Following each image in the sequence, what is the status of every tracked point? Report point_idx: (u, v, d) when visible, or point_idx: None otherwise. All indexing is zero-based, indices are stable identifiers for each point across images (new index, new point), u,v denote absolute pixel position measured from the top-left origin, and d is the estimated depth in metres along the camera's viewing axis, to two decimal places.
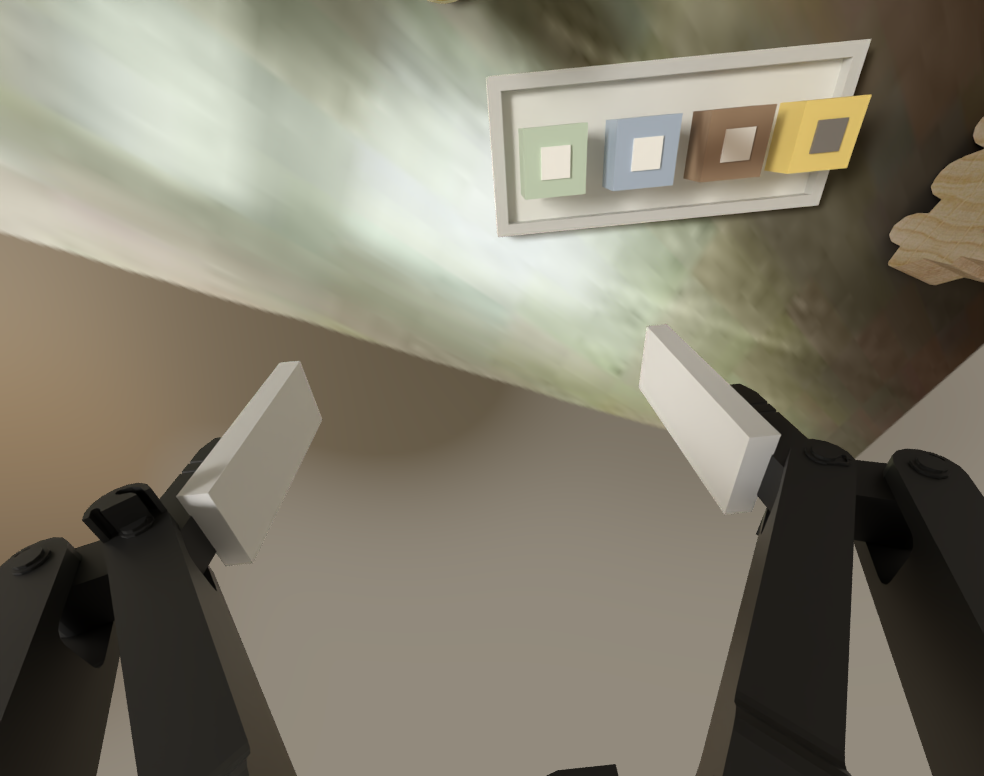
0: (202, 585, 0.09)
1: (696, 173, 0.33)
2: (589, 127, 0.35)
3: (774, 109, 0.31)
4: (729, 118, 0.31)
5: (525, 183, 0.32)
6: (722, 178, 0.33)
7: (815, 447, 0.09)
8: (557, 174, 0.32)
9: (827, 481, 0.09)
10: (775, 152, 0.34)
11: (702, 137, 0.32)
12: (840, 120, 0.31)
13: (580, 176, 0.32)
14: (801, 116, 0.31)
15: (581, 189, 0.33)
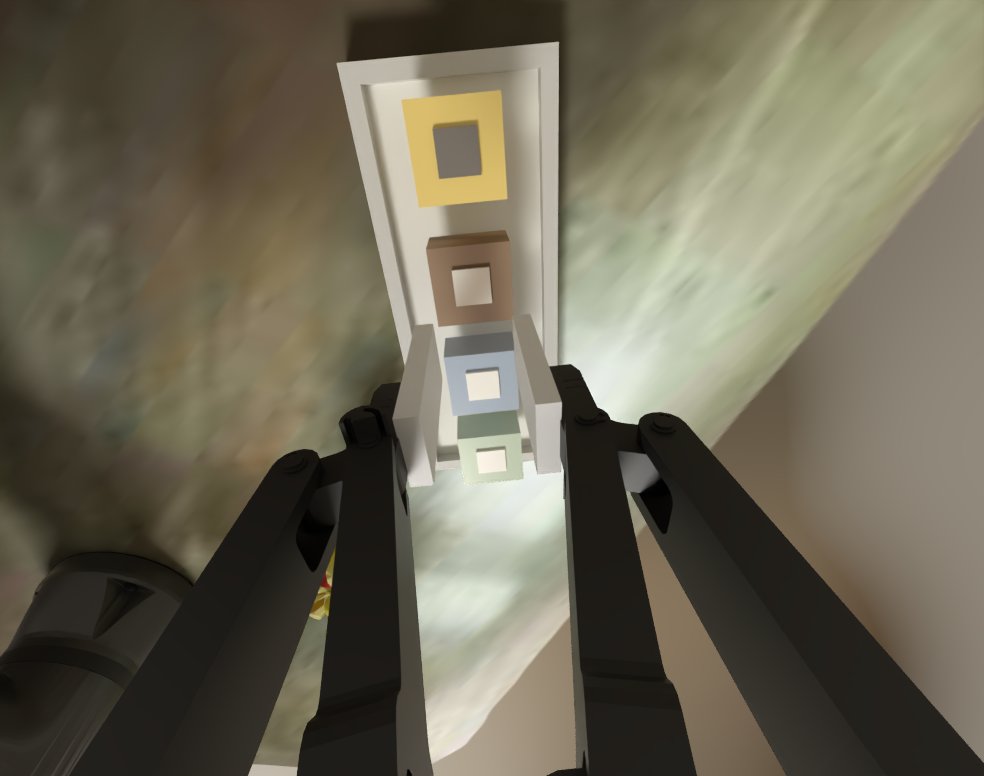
0: (399, 510, 0.10)
1: None
2: None
3: (432, 250, 0.24)
4: (445, 305, 0.25)
5: (508, 479, 0.34)
6: (510, 292, 0.25)
7: (580, 413, 0.11)
8: (501, 459, 0.32)
9: (595, 438, 0.10)
10: None
11: None
12: (437, 142, 0.21)
13: (504, 439, 0.31)
14: (436, 205, 0.22)
15: (516, 437, 0.31)
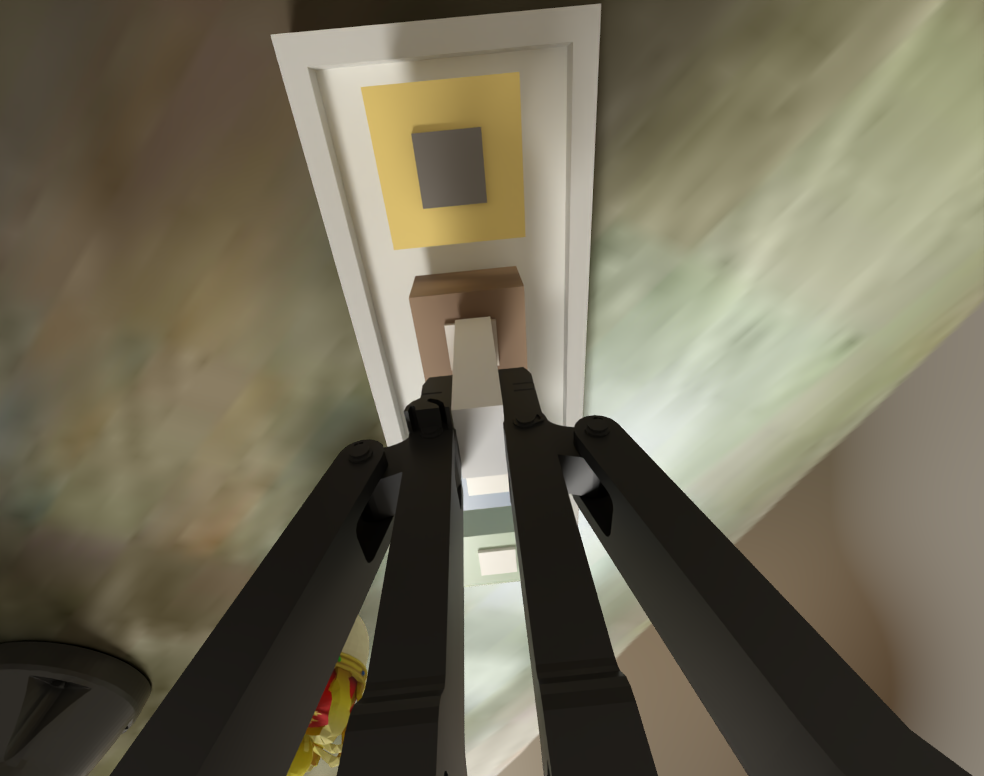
0: (455, 504, 0.10)
1: None
2: None
3: (417, 300, 0.17)
4: (436, 368, 0.19)
5: (519, 579, 0.26)
6: (523, 351, 0.19)
7: (518, 417, 0.11)
8: (510, 560, 0.25)
9: (534, 441, 0.11)
10: None
11: None
12: (419, 154, 0.13)
13: (514, 536, 0.24)
14: None
15: None
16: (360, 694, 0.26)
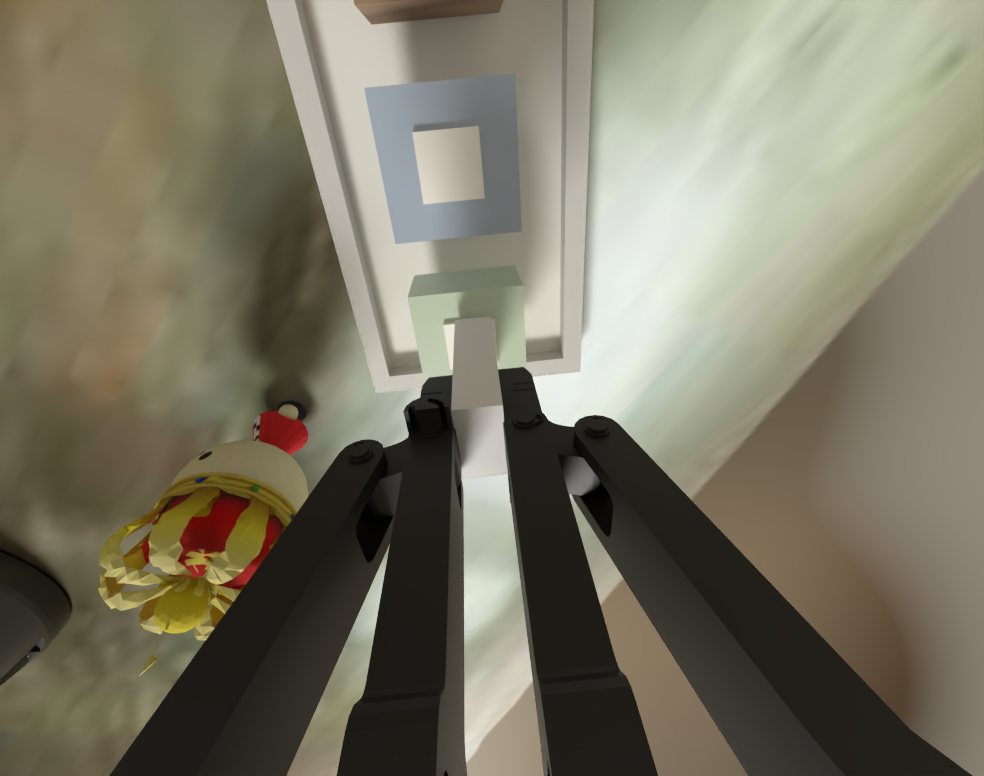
0: (454, 504, 0.10)
1: None
2: None
3: None
4: None
5: None
6: None
7: (518, 417, 0.11)
8: None
9: (534, 440, 0.11)
10: None
11: (412, 5, 0.14)
12: None
13: (493, 298, 0.17)
14: None
15: (515, 294, 0.17)
16: None
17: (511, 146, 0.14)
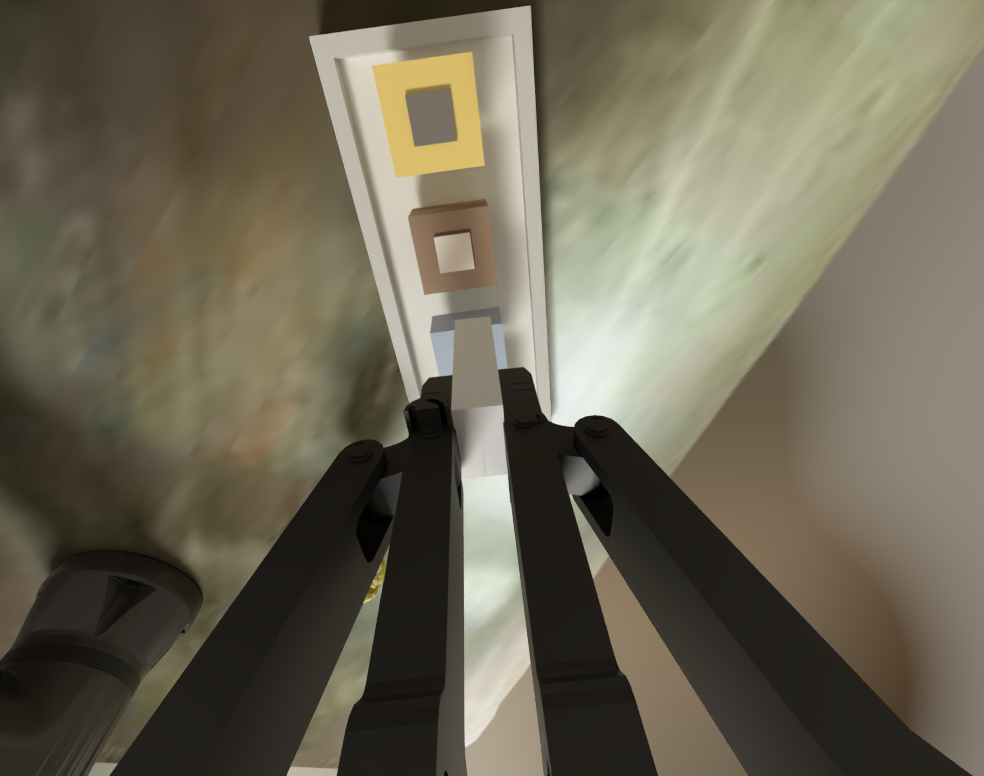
0: (454, 504, 0.10)
1: None
2: None
3: (414, 218, 0.24)
4: (429, 272, 0.26)
5: None
6: (492, 257, 0.26)
7: (518, 417, 0.11)
8: None
9: (534, 441, 0.11)
10: None
11: None
12: (411, 109, 0.20)
13: None
14: None
15: None
16: None
17: (502, 350, 0.28)
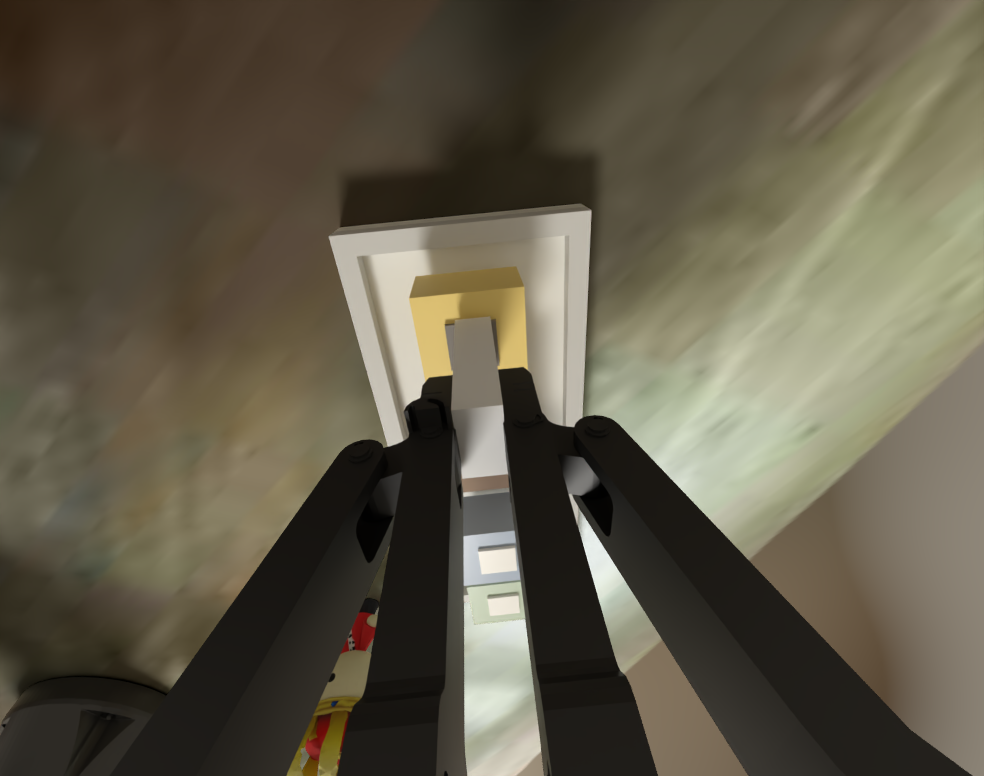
0: (455, 504, 0.10)
1: None
2: None
3: None
4: None
5: (522, 618, 0.31)
6: None
7: (518, 417, 0.11)
8: (514, 604, 0.30)
9: (534, 440, 0.11)
10: None
11: None
12: (450, 338, 0.18)
13: (517, 585, 0.29)
14: None
15: None
16: None
17: None
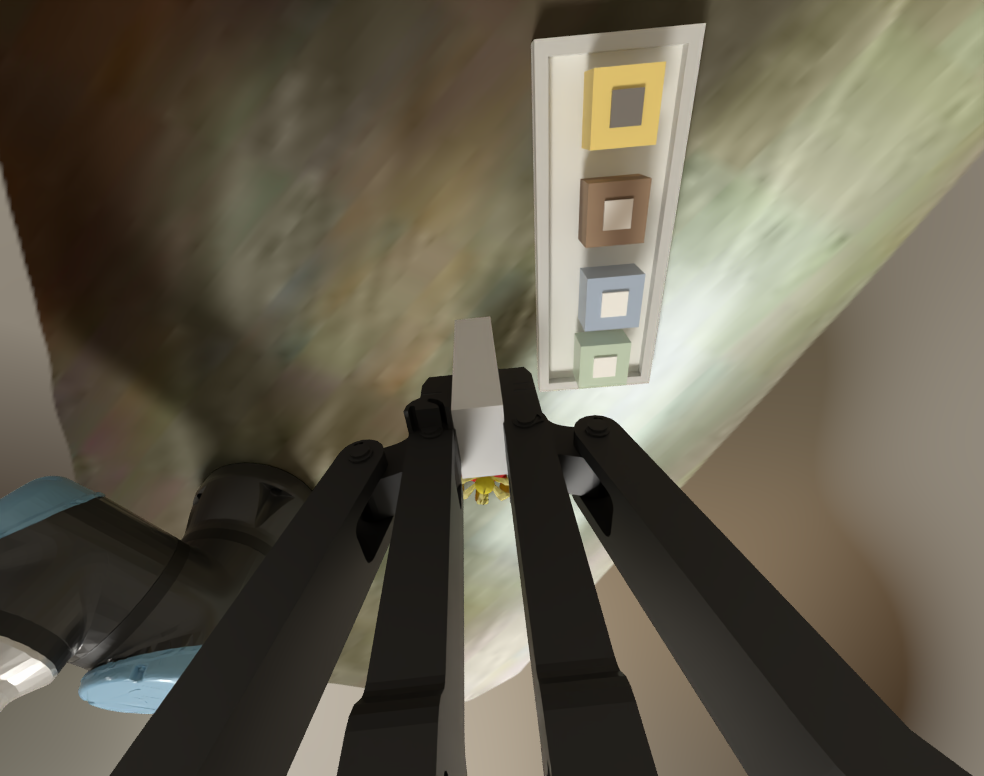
0: (455, 504, 0.10)
1: None
2: (577, 314, 0.42)
3: (593, 185, 0.31)
4: (593, 229, 0.33)
5: (614, 385, 0.42)
6: (644, 220, 0.33)
7: (518, 417, 0.11)
8: (612, 365, 0.40)
9: (534, 441, 0.11)
10: None
11: None
12: (614, 100, 0.28)
13: (617, 347, 0.39)
14: None
15: (627, 346, 0.39)
16: None
17: (639, 297, 0.35)
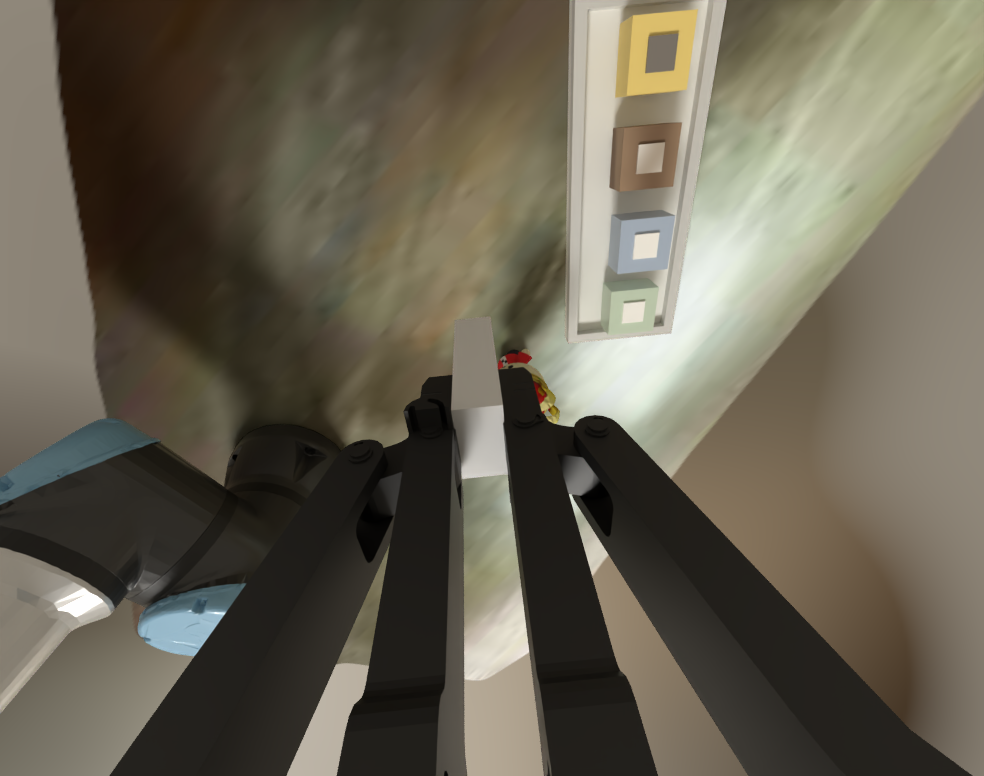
0: (455, 504, 0.10)
1: None
2: (605, 265, 0.44)
3: (628, 129, 0.34)
4: (627, 173, 0.36)
5: (641, 331, 0.44)
6: (674, 164, 0.36)
7: (518, 417, 0.11)
8: (641, 310, 0.43)
9: (534, 441, 0.11)
10: None
11: None
12: (650, 46, 0.31)
13: (645, 292, 0.42)
14: (638, 94, 0.33)
15: (655, 290, 0.42)
16: None
17: (669, 238, 0.38)
